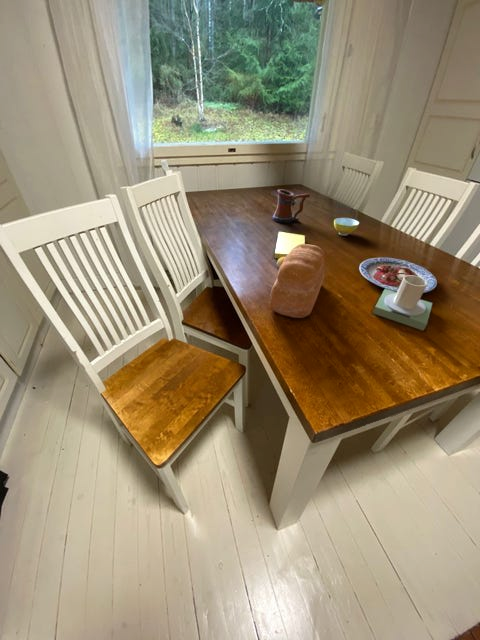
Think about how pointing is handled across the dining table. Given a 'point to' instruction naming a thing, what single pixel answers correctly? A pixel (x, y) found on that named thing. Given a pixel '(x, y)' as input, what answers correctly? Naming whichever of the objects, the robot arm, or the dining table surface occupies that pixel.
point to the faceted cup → (410, 291)
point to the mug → (287, 206)
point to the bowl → (345, 225)
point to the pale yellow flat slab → (287, 243)
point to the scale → (403, 311)
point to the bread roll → (280, 262)
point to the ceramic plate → (394, 273)
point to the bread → (298, 281)
